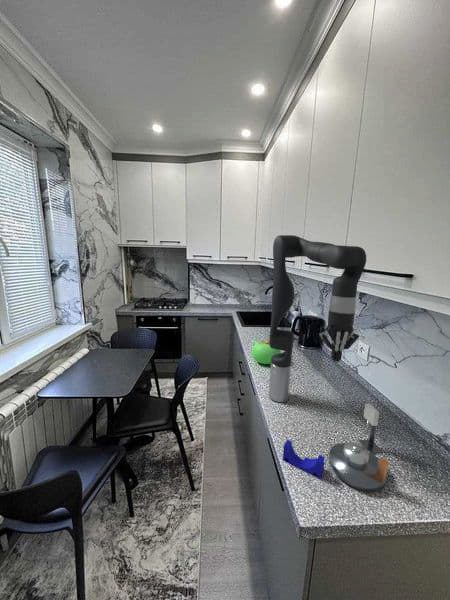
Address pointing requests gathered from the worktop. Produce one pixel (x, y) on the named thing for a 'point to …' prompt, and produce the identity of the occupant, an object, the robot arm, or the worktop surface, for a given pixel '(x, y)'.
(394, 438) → the worktop surface
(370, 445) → the grey stand with block
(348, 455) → the cover
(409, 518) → the worktop surface
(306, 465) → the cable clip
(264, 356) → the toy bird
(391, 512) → the worktop surface
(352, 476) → the grey pot lid
